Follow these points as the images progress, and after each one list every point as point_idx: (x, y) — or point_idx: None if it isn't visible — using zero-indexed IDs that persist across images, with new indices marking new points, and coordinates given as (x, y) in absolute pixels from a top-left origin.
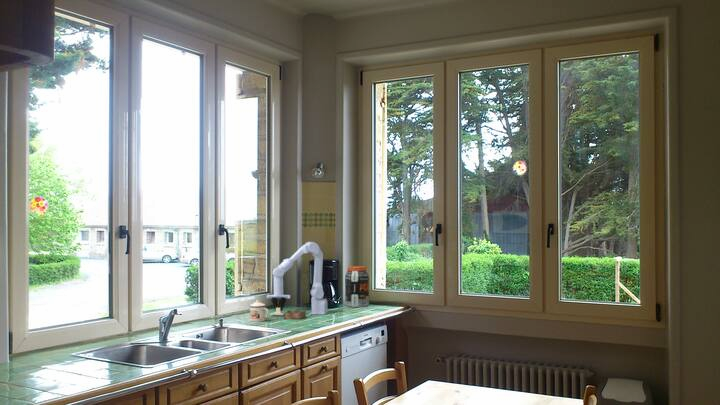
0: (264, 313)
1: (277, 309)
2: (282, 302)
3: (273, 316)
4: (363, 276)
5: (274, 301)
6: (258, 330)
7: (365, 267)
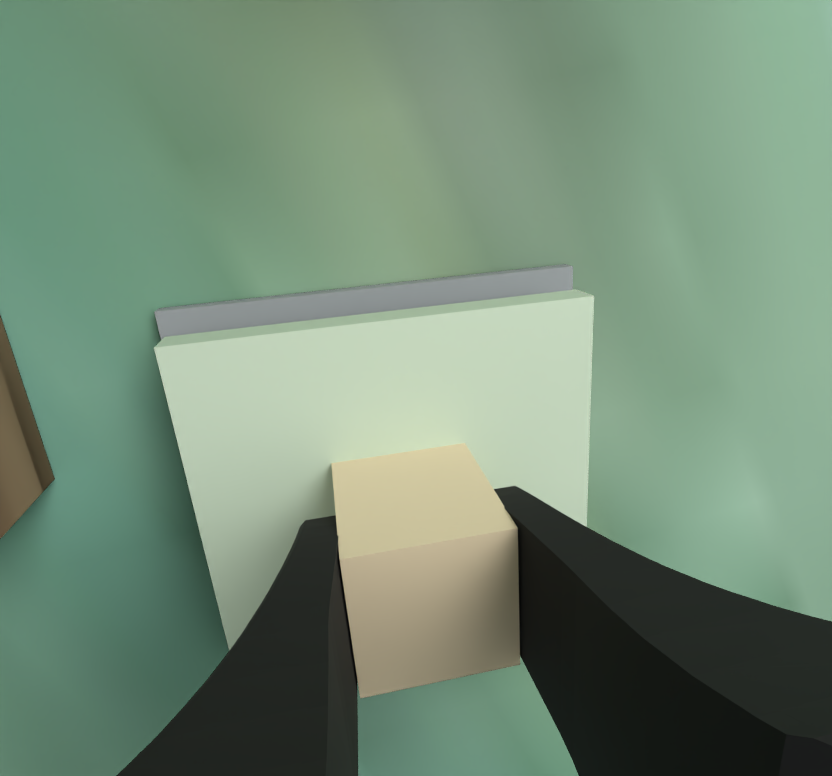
0: None
1: (437, 507)
2: (137, 758)
3: (454, 291)
4: None
5: (707, 664)
6: None
7: None
